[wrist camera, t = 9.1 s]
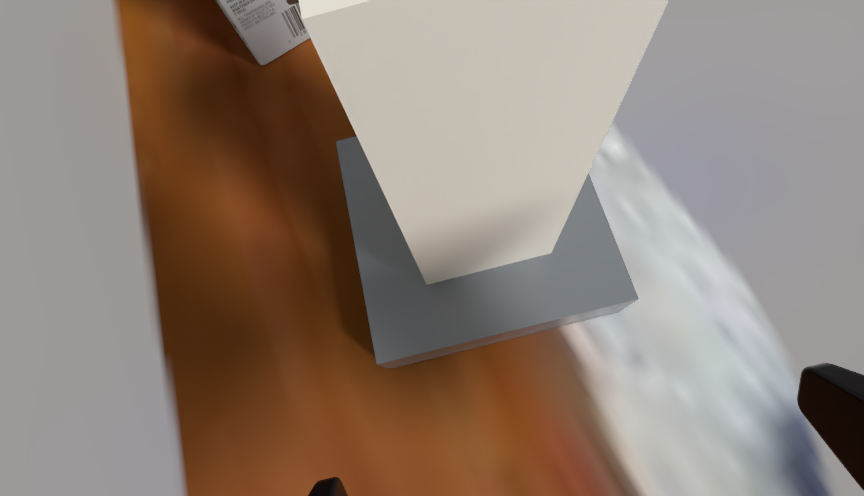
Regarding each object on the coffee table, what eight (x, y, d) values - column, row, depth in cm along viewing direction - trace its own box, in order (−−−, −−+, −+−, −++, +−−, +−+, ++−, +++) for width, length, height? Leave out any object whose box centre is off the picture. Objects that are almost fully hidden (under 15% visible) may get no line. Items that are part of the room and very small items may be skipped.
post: (551, 253, 18) (711, -91, 5) (426, 284, 18) (301, 19, 5) (514, 145, 19) (570, -305, 7) (400, 174, 19) (260, -217, 7)
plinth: (618, 311, 19) (638, 299, 17) (389, 369, 19) (376, 364, 17) (545, 117, 22) (553, 84, 20) (350, 168, 23) (335, 141, 20)
